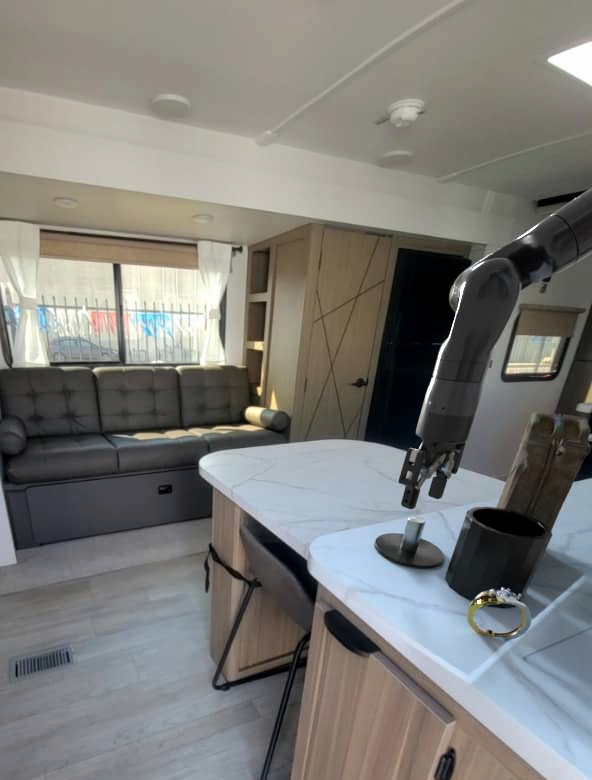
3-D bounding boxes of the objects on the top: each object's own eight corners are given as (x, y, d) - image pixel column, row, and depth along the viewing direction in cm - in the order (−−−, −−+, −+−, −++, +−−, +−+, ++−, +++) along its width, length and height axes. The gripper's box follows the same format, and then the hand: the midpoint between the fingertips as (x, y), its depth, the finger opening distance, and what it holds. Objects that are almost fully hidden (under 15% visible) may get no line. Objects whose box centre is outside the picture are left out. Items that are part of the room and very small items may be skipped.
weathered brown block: (487, 526, 86) (532, 408, 75) (536, 539, 82) (590, 415, 71) (476, 564, 73) (529, 426, 62) (534, 582, 68) (601, 437, 57)
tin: (463, 564, 73) (486, 501, 67) (531, 596, 65) (564, 527, 59) (431, 583, 67) (453, 516, 62) (501, 620, 59) (534, 546, 54)
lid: (397, 532, 83) (405, 500, 80) (454, 559, 74) (466, 524, 71) (360, 548, 77) (368, 514, 74) (419, 579, 68) (430, 542, 65)
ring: (460, 636, 56) (478, 589, 52) (459, 622, 58) (477, 576, 55) (520, 655, 53) (544, 606, 50) (517, 639, 56) (539, 592, 52)
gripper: (449, 418, 57) (419, 520, 64) (495, 409, 65) (463, 501, 72) (400, 408, 63) (378, 503, 70) (448, 401, 70) (423, 487, 77)
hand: (421, 502), depth 71 cm, fingers open, 8 cm apart
